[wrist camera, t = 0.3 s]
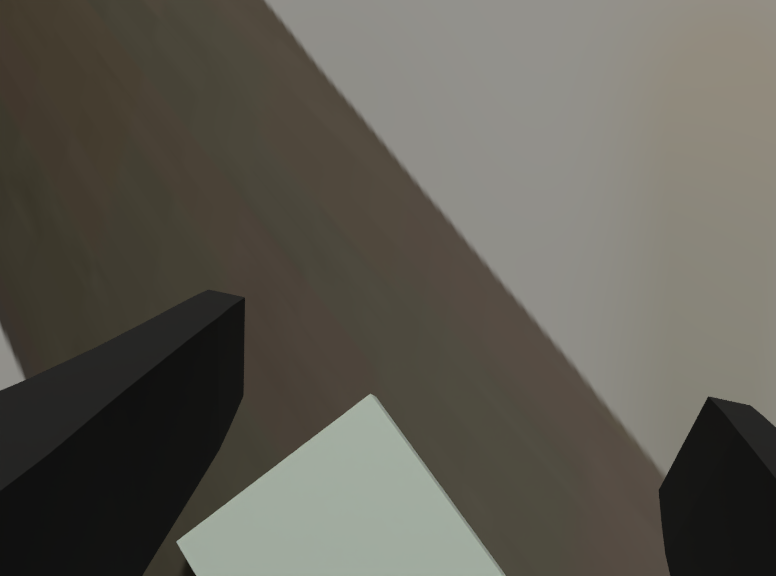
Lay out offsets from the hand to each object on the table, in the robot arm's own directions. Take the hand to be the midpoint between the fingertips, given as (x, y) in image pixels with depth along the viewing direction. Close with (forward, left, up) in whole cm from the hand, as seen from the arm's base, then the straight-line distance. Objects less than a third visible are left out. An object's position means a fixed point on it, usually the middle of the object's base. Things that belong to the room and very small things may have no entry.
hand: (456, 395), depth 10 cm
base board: (-8, +6, -29) cm, 31 cm away
